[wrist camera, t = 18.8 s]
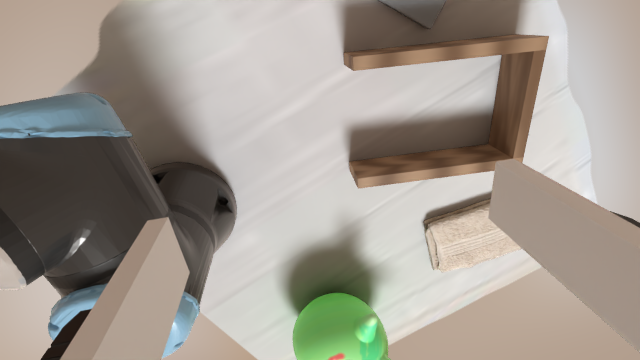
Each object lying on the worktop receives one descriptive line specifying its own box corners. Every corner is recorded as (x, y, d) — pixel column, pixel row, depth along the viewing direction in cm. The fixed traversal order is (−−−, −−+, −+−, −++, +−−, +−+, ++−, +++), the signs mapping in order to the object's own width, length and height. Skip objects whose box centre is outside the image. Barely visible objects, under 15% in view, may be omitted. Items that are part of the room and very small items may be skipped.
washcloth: (418, 219, 56) (425, 230, 53) (518, 184, 55) (531, 192, 52) (430, 268, 61) (437, 280, 58) (521, 236, 60) (533, 247, 57)
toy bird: (275, 299, 60) (273, 377, 46) (355, 258, 57) (378, 328, 44) (321, 351, 67) (331, 430, 54) (394, 317, 65) (422, 391, 52)
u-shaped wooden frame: (349, 170, 50) (358, 188, 44) (343, 52, 42) (352, 57, 37) (495, 151, 51) (521, 167, 46) (515, 34, 43) (549, 36, 38)
